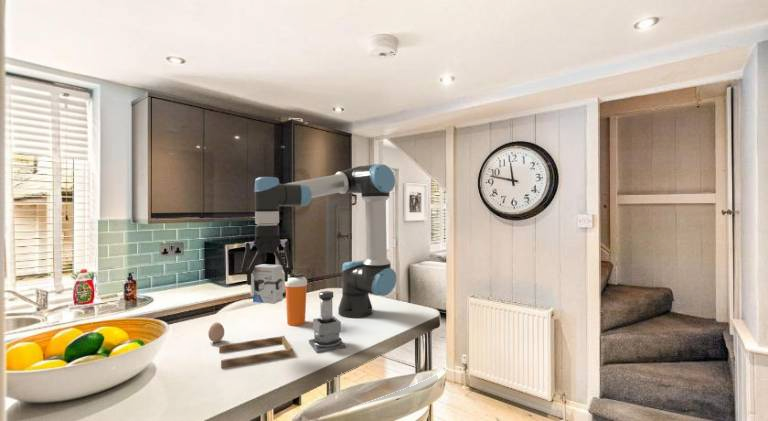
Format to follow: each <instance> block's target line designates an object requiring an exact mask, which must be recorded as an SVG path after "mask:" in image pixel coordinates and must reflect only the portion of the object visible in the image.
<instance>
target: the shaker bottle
mask: <svg viewBox="0 0 768 421" xmlns="http://www.w3.org/2000/svg"><path fill="white" fill-rule="evenodd" d="M307 286H308V280H307V278H306V277H305V273H295V272H292V273H288V281H287V282H285V303H286V321H287V322H286V323H287V325H289V326H291V327H292V326H293V327H295V326H301V325H305V323H306V313H307V312H306V309H307V308H306V307H307V306H306V305H307V290H308V289H307Z"/></svg>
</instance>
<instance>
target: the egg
mask: <svg viewBox="0 0 768 421" xmlns="http://www.w3.org/2000/svg"><path fill="white" fill-rule="evenodd" d="M207 334H208V338H209V340H210V341H211V342H213V343H218V342H220V341H222V339H223V338H224V336H225V328H224V326H223V325H222V324H221V323H220V322H219V321H217V322H214V323H212V324H211V326H210V327H209V330H208V333H207Z"/></svg>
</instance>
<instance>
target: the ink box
mask: <svg viewBox="0 0 768 421" xmlns="http://www.w3.org/2000/svg"><path fill="white" fill-rule="evenodd" d="M282 272H283V269H282V266H281V265H280V264H269V263H268V264H267V263H263V264H262V263H261V264H256V266H255V268H254V270H253V272H252V274H253V275H254V296H252V303H261V304H268V305H269V304H270V305H275V304H278V303H280V302H282V301H283V300H284V299H283V298H284V295H283V294H284V293H283V279H282V278H283V276H282Z"/></svg>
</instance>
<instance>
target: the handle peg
mask: <svg viewBox="0 0 768 421" xmlns="http://www.w3.org/2000/svg"><path fill="white" fill-rule="evenodd" d="M318 297H319V299H320V300H319V301H320V318H321V324H324V323H331V322H333V316H334V315H333V298H334V292H333V291H330V290H328V291H327V290H325V291H324V290H323V291H320V292H319V293H318Z"/></svg>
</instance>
